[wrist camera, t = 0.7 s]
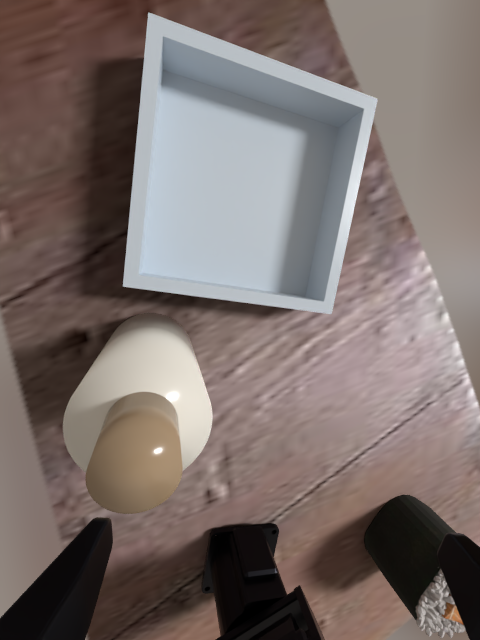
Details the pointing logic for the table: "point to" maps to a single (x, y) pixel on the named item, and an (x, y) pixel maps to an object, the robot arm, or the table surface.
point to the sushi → (414, 562)
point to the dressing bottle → (139, 415)
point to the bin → (241, 174)
